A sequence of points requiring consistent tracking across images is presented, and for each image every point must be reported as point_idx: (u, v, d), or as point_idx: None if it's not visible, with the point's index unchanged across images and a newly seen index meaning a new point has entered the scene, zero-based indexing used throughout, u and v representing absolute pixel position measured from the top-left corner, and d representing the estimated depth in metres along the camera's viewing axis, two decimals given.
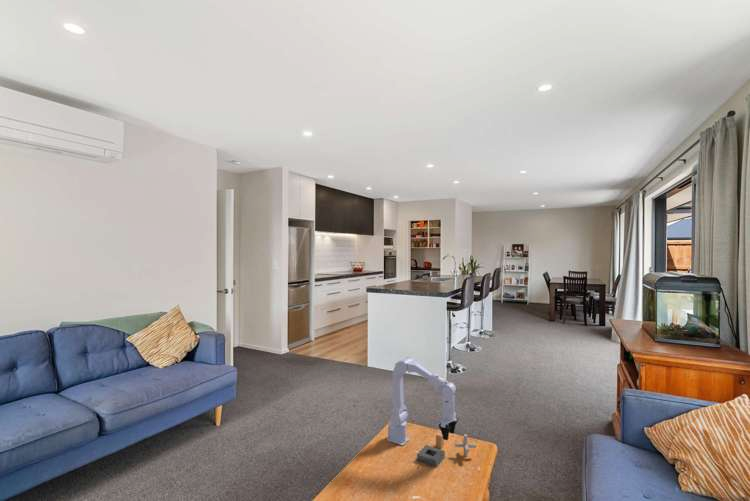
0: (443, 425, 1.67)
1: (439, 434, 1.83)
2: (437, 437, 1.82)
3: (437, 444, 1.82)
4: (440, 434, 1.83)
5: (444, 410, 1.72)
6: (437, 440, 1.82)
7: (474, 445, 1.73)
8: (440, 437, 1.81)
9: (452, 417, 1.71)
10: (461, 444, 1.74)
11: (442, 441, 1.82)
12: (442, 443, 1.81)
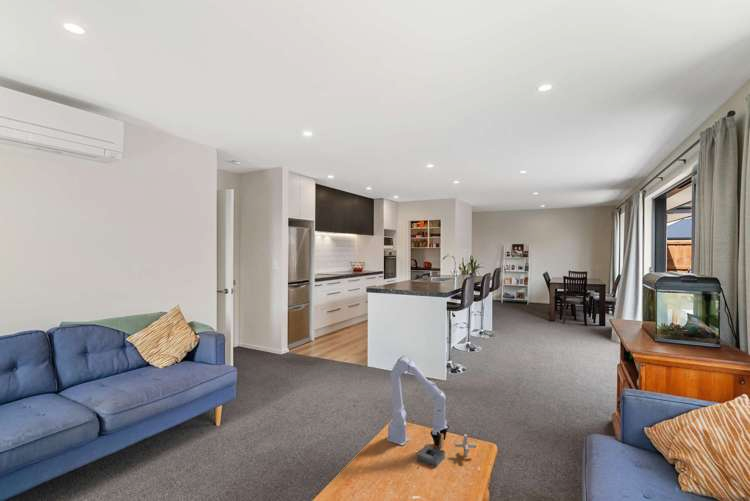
0: (434, 433, 1.76)
1: None
2: None
3: None
4: None
5: (435, 418, 1.81)
6: None
7: (474, 445, 1.73)
8: None
9: (443, 425, 1.80)
10: (461, 444, 1.74)
11: (442, 441, 1.82)
12: (442, 443, 1.81)
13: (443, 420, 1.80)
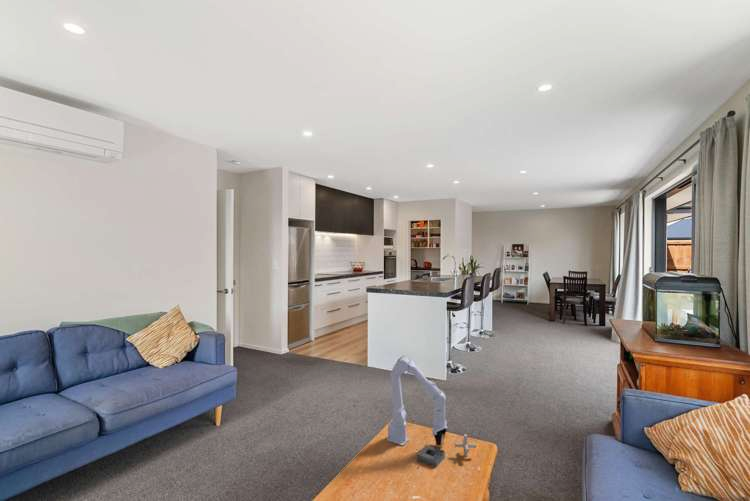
0: (434, 433, 1.76)
1: None
2: None
3: None
4: None
5: (435, 418, 1.81)
6: None
7: (474, 445, 1.73)
8: None
9: (443, 425, 1.80)
10: (461, 444, 1.74)
11: (442, 441, 1.82)
12: (442, 443, 1.81)
13: (443, 420, 1.80)
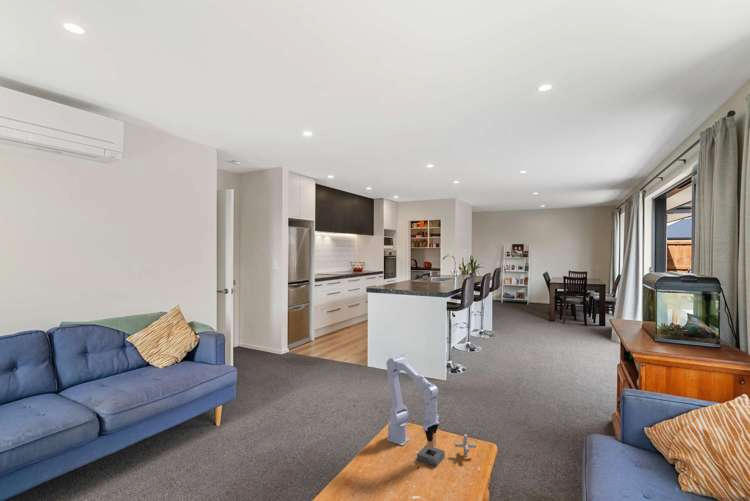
0: (425, 428, 1.65)
1: None
2: None
3: (429, 444, 1.70)
4: None
5: (426, 413, 1.70)
6: None
7: (474, 445, 1.73)
8: (432, 437, 1.69)
9: (434, 420, 1.69)
10: (461, 444, 1.74)
11: (434, 440, 1.70)
12: (433, 443, 1.70)
13: (434, 415, 1.69)
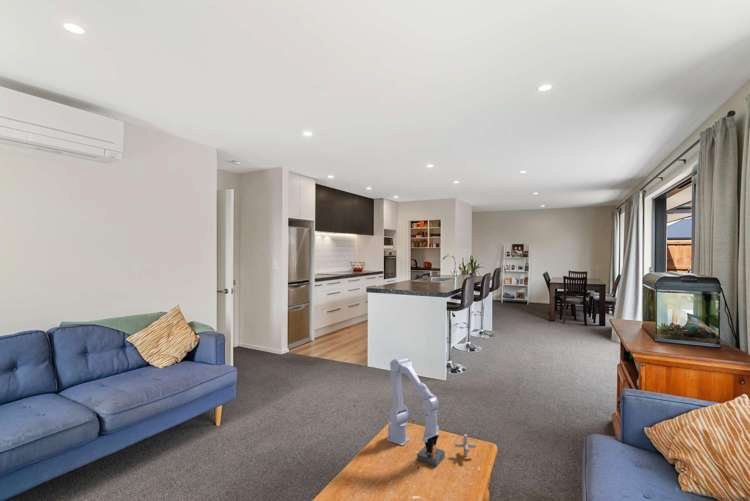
0: (425, 440, 1.65)
1: None
2: None
3: None
4: None
5: (426, 424, 1.70)
6: None
7: (474, 445, 1.73)
8: (432, 449, 1.69)
9: (434, 431, 1.69)
10: (461, 444, 1.74)
11: (434, 452, 1.70)
12: (433, 455, 1.70)
13: (434, 426, 1.69)
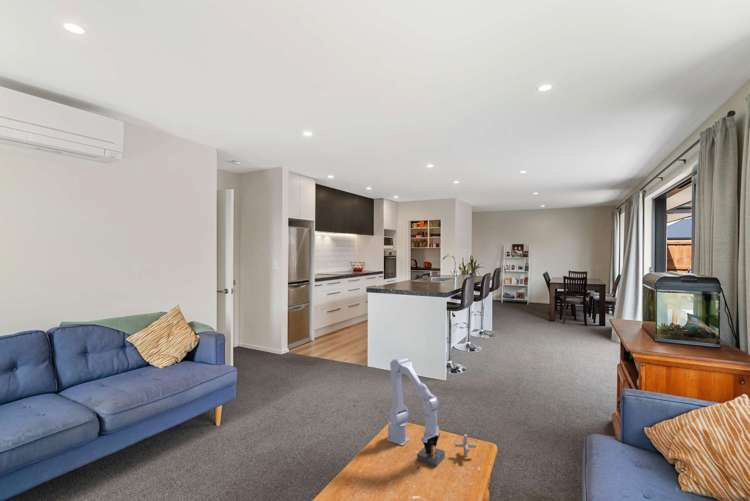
0: (425, 440, 1.65)
1: None
2: None
3: None
4: (432, 446, 1.71)
5: (426, 425, 1.70)
6: None
7: (474, 445, 1.73)
8: (432, 449, 1.69)
9: (434, 432, 1.69)
10: (461, 444, 1.74)
11: (434, 453, 1.70)
12: None
13: (434, 427, 1.69)
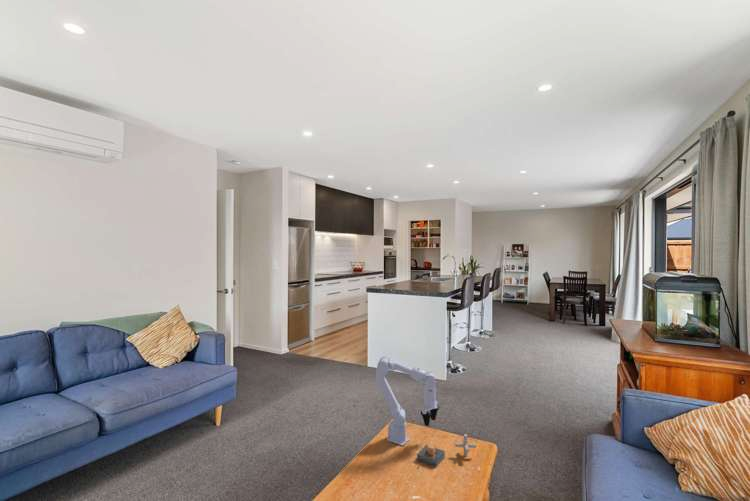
0: (424, 412, 1.80)
1: (431, 446, 1.71)
2: (428, 449, 1.70)
3: None
4: (432, 446, 1.71)
5: (426, 398, 1.85)
6: (429, 453, 1.70)
7: (474, 445, 1.73)
8: (432, 449, 1.69)
9: (433, 405, 1.84)
10: (461, 444, 1.74)
11: (434, 453, 1.70)
12: None
13: (433, 400, 1.84)
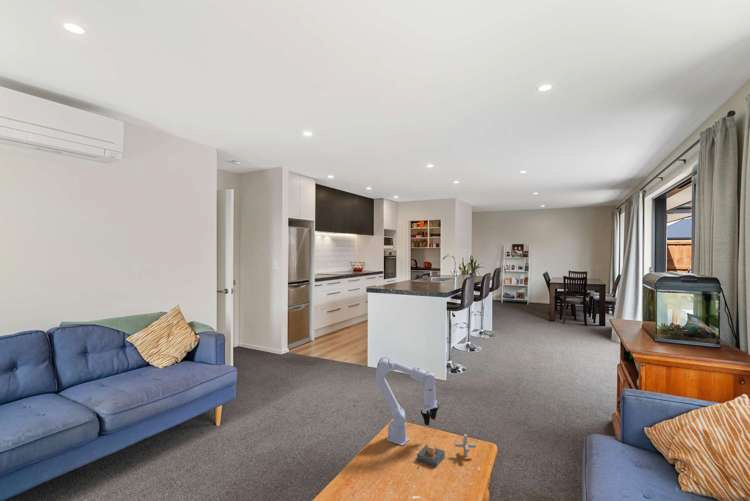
0: (424, 411, 1.81)
1: (431, 446, 1.71)
2: (428, 449, 1.70)
3: None
4: (432, 446, 1.71)
5: (426, 398, 1.85)
6: (429, 453, 1.70)
7: (474, 445, 1.73)
8: (432, 449, 1.69)
9: (433, 404, 1.84)
10: (461, 444, 1.74)
11: (434, 453, 1.70)
12: None
13: (433, 399, 1.85)
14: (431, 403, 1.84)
